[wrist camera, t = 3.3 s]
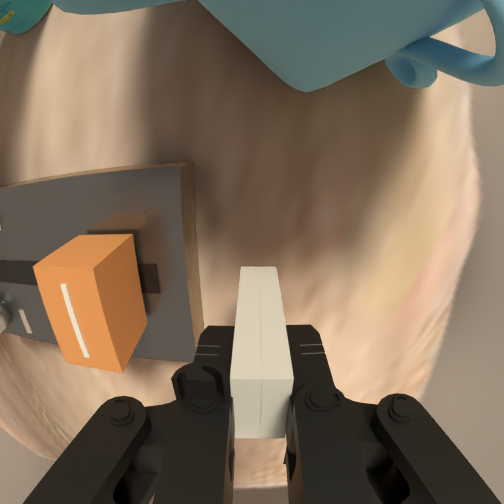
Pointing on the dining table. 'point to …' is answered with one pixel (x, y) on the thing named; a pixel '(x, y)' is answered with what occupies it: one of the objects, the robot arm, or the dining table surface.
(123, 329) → the fader
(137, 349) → the console
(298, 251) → the dining table surface
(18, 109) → the dining table surface
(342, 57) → the teapot
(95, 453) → the robot arm
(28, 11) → the tube
